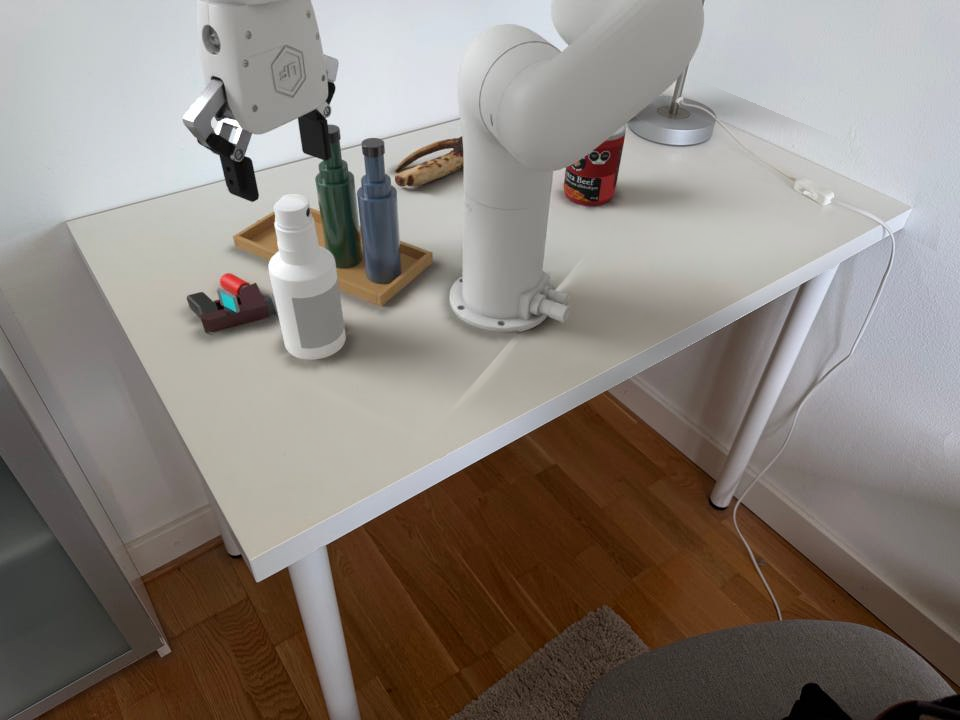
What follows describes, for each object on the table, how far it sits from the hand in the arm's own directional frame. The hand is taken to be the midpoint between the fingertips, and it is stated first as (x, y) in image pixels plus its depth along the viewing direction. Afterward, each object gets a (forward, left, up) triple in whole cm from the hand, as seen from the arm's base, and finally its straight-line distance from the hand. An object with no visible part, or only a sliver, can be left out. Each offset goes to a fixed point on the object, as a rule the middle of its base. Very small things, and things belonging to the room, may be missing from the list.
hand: (282, 175), depth 64 cm
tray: (+9, -15, -21) cm, 27 cm away
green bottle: (+7, -15, -20) cm, 26 cm away
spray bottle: (0, 0, -21) cm, 21 cm away
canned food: (-12, -49, -21) cm, 55 cm away
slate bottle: (+1, -15, -20) cm, 25 cm away
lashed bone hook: (+12, -42, -21) cm, 48 cm away
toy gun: (+11, -1, -21) cm, 24 cm away
